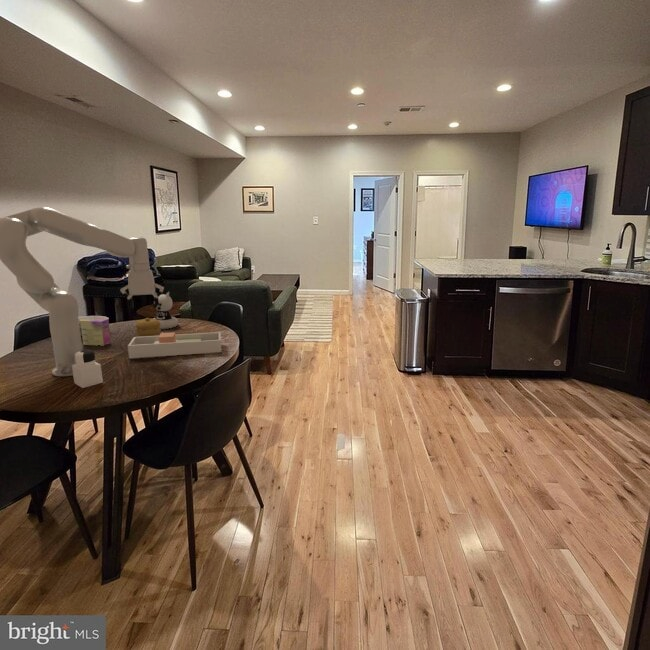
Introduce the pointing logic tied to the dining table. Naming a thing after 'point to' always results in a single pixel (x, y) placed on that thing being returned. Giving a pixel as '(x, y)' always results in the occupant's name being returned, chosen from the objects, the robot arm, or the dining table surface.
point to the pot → (148, 327)
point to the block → (167, 337)
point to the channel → (175, 345)
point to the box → (95, 331)
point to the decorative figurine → (165, 312)
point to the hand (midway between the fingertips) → (144, 307)
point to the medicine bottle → (86, 369)
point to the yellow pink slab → (91, 318)
